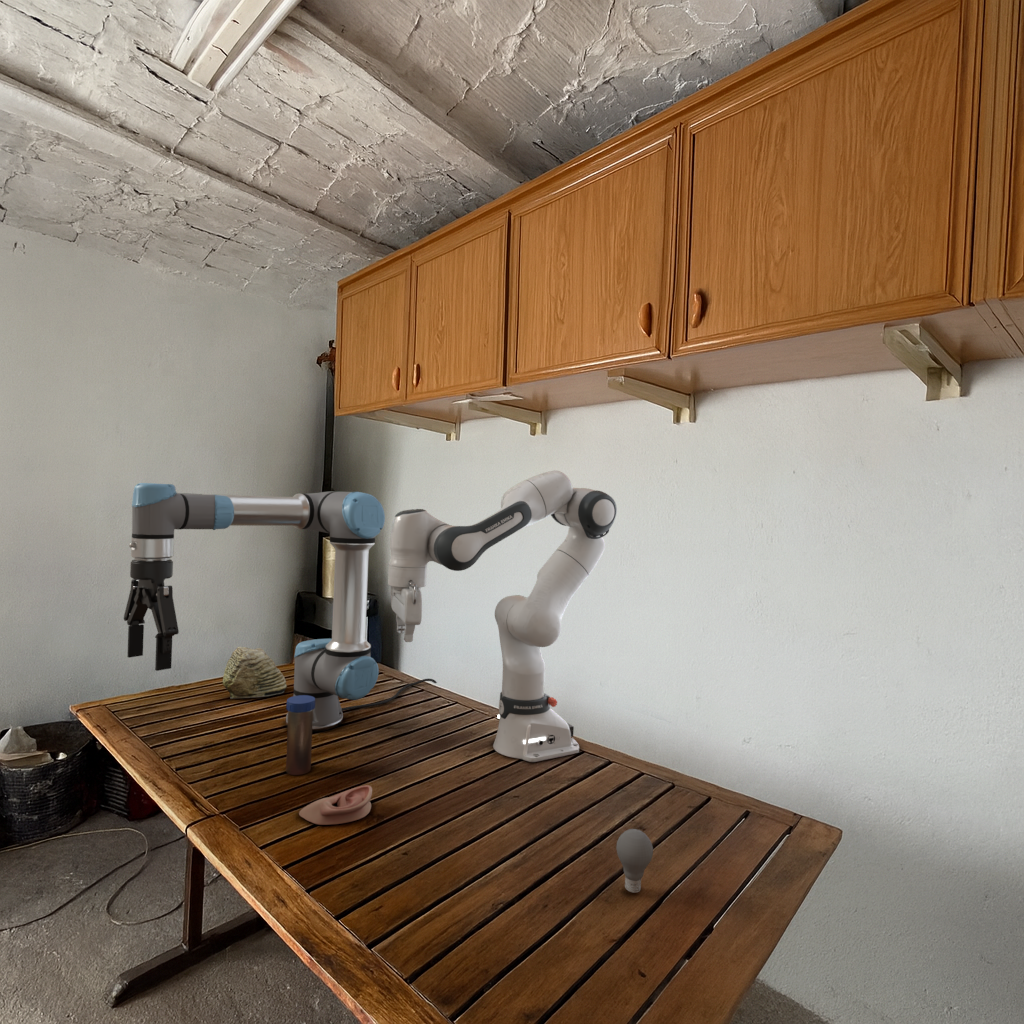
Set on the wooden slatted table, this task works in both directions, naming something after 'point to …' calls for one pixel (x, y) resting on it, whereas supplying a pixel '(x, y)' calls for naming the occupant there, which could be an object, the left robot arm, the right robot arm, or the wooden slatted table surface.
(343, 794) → the anatomical model
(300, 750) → the jar
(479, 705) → the wooden slatted table surface
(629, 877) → the light bulb
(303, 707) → the lid
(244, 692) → the fossil
